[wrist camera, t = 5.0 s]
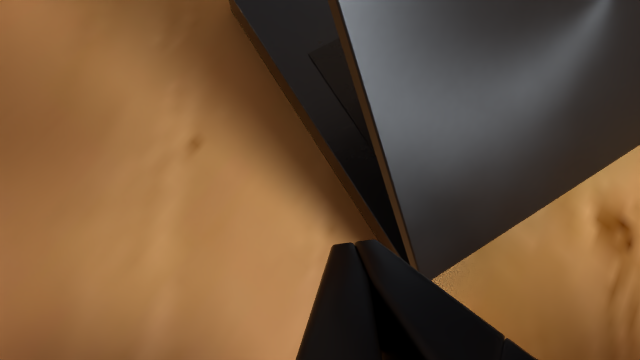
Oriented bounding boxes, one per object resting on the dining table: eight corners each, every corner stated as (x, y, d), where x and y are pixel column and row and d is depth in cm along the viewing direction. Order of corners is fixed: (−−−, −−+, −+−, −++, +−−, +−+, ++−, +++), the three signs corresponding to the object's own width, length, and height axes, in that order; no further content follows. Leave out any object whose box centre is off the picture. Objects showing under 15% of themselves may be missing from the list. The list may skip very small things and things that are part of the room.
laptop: (230, 10, 26) (225, -14, 24) (525, -129, 30) (540, -158, 28) (402, 279, 22) (412, 275, 20) (715, 79, 26) (746, 61, 24)
